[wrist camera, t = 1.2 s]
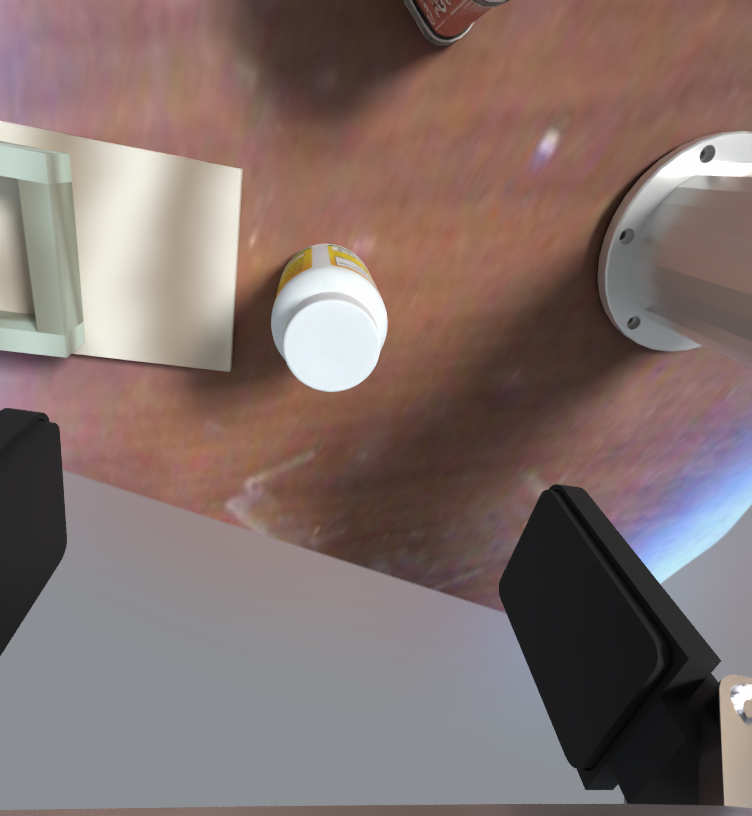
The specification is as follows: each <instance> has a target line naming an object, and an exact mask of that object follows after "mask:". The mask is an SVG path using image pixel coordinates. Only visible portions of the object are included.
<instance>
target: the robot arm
mask: <svg viewBox="0 0 752 816" xmlns="http://www.w3.org/2000/svg"><path fill="white" fill-rule="evenodd" d="M620 235H621V236H620ZM598 286H599V295H600V299H601V302H602V305H603V308H604V311H605V313H606V314H607V316H608V318H609V319H610V321H611V322H612V324H613V325H614V326H615V327H616V328H617V329H618V330H619V331H620V332H621V333H622V334H623V335H624V336H626V337H628V338H629V339H631V340H633V341H634V342H636V343H638V344H640V345H643V346H645V347H648V348H650V349H654V350H660V351H667V352H670V351H685V350H689V349H694V348H698V347H702V346H704V347H706V348H708V349H710V350H712V351H714V352H716V353H719V354H721V355H723V356H725V357H727V358H729V359H731V360H733V361H735V362H738V363H740V364H742V365H744V366H746V367H748V368H750V369H752V132H748V131H733V132H720V133H716V134H711V135H707V136H703V137H699V138H697V139H695V140H693V141H690V142H688V143H686V144H684V145H681V146H679V147H678V148H676V149H675V150H673V151H672V152H670V153H669V154H667V155H666V156H664V157H663V158H661V159H660V160H659V161H658V162H656V163H655V164H654V165H653V166H652V167H651V168H650V169H649V170H648V171H647V172H645V173H644V174H643V175H642V176H641V177H640V179H639V180H638V181H637V182H636V183H635V185H634V186H633V187H632V188H631V189H630V191H629V192H628V193H627V194H626V196H625V197H624V199H623V201H622V202H621V204H620V206H619V207H618V209H617V211H616V212H615V214H614V216H613V218H612V220H611V222H610V225H609V227H608V230H607V232H606V234H605V237H604V240H603V244H602V248H601V252H600V256H599V265H598ZM65 520H66V519H65V504H64V489H63V474H62V459H61V444H60V431H59V427H58V425H57V424H56V423H52V422H49V418H48V416H47V415H46V414H44V413H40V412H33V411H26V410H19V409H12V408H4V409H3V410H1V411H0V656H1V654H2V652H3V651H4V649H5V648H6V646H7V645H8V643H9V641H10V640H11V638H12V637H13V635H14V634H15V632H16V630H17V629H18V627H19V626H20V624H21V623H22V621H23V620H24V618H25V616H26V615H27V613H28V612H29V610H30V609H31V607H32V605H33V604H34V602H35V600H36V599H37V598H38V596H39V594H40V593H41V591H42V590H43V588H44V587H45V585H46V583H47V582H48V580H49V579H50V577H51V576H52V574H53V572H54V571H55V569H56V567H57V566H58V565H59V563H60V561H61V560H62V557H63V555H64V552H65V549H66V544H67V534H66V521H65ZM499 595H500V598H501V601H502V603H503V606H504V608H505V611H506V613H507V615H508V618H509V620H510V623H511V625H512V628H513V630H514V632H515V635H516V637H517V640H518V642H519V644H520V647H521V649H522V652H523V654H524V657H525V659H526V662H527V664H528V666H529V669H530V671H531V674H532V676H533V678H534V681H535V683H536V685H537V688H538V691H539V693H540V696H541V698H542V700H543V703H544V705H545V707H546V710H547V713H548V715H549V717H550V720H551V722H552V725H553V727H554V730H555V732H556V734H557V737H558V739H559V742H560V744H561V746H562V749H563V751H564V754H565V756H566V758H567V760H568V762H569V763H570V764H571V766H573V767H574V768H577V771H578V773H579V776H580V778H581V780H582V783H583V785H584V787H585V789H586V790H613V789H614V788H615V787H616V786H617V785H618V784H619V786H620V788H621V791H622V793H623V795H624V797H625V798H624V804H496V805H495V804H491V805H490V804H485V805H484V804H482V805H481V804H479V805H477V804H476V805H362V806H361V805H360V806H267V807H265V806H262V807H260V806H258V807H189V808H188V807H187V808H127V809H126V808H121V809H55V810H54V809H51V810H2V811H0V816H752V678H749V677H746V676H741V675H727V676H726V677H724V678H723V679H722V680H721V681H720V682H719V683H718V682H717V680H716V679H715V678H714V676H713V675H712V674H711V672H712V671H713V670H714V669H715V668H716V666H717V665H718V664H719V663H720V662H721V660H720V659H719V658H718V656H717V655H716V654H715V653H714V652H713V650H712V649H711V648H710V646H709V645H708V644H707V643H706V641H705V640H704V639H703V637H702V636H701V635H700V634H699V632H698V631H697V630H696V629H695V627H694V626H693V625H692V624H691V622H690V621H689V620H688V619H687V617H686V616H685V615H684V614H683V612H682V611H681V610H680V609H679V607H678V606H677V605H676V604H675V602H674V601H673V600H672V599H671V598H670V596H669V595H668V594H667V592H666V591H665V590H664V589H663V587H662V586H661V585H660V584H659V582H658V581H657V580H656V579H655V577H654V576H653V575H652V574H651V572H650V571H649V570H648V569H647V567H646V566H645V565H644V564H643V562H642V561H641V560H640V559H639V557H638V556H637V555H636V554H635V552H634V551H633V550H632V549H631V547H630V546H629V545H628V544H627V542H626V541H625V540H624V539H623V537H622V536H621V535H620V534H619V532H618V531H617V530H616V528H615V527H614V526H613V525H612V523H611V522H610V521H609V520H608V518H607V517H606V516H605V515H604V513H603V512H602V511H601V510H600V508H599V507H598V506H597V505H596V503H595V502H594V501H593V500H592V498H591V497H590V496H589V495H588V493H587V492H586V491H585V490H584V489H583V488H579V487H573V486H565V485H558V484H556V485H553V486H551V487H550V488H549V490H545V491H543V492H542V494H541V495H540V497H539V499H538V501H537V504H536V506H535V508H534V510H533V512H532V514H531V516H530V518H529V520H528V523H527V525H526V527H525V529H524V531H523V533H522V535H521V537H520V539H519V541H518V544H517V546H516V548H515V550H514V552H513V554H512V556H511V558H510V560H509V563H508V565H507V567H506V569H505V571H504V573H503V575H502V577H501V580H500V583H499Z"/></svg>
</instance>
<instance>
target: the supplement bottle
mask: <svg viewBox="0 0 752 816" xmlns="http://www.w3.org/2000/svg"><path fill="white" fill-rule="evenodd" d="M387 323H388V322H387V313H386V309H385V305H384V303H383V300H382V298H381V295H380V294H379V292H378V290H377V287H376V285H375V284H374V282H373V279H372V277H371V275H370V273H369V271H368V269H367V268H366V266H365V265H364V263H363V262H362V261H361V260H360V259H359V258H358V256H356V255H355V254H354V253H352V252H351V251H349V250H348V249H346V248H344V247H341V246H338V245H334V244H317V245H313V246H310V247H307V248H305V249H303V250H301V251H300V252H299V253H297V254H296V255H295V256H294V257H293V258H292V259H291V260H290V261H289V263H288V264H287V266H286V267H285V269H284V271H283V273H282V276H281V279H280V283H279V287H278V291H277V295H276V299H275V302H274V306H273V310H272V316H271V330H272V335H273V339H274V342H275V345H276V347H277V349H278V351H279V352H280V354H281V355H282V357H283V358H284V359H285V360H286V363H287V365H288V367H289V368H290V370H291V372H292V373H293V374H294V375H295V376H296V377H297V379H298V380H300V381H301V382H302V383H304V384H305V385H307V386H309V387H311V388H314V389H317V390H320V391H327V392H337V391H342V390H346V389H349V388H352V387H354V386H356V385H358V384H359V383H361V382H362V381H363V380H364V379H366V378H367V377H368V376H369V375H370V373H371V372H372V370H373V369H374V367H375V365H376V364H377V361H378V358H379V354H380V351H381V349H382V346H383V344H384V341H385V338H386V334H387Z"/></svg>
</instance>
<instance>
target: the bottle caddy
mask: <svg viewBox="0 0 752 816" xmlns="http://www.w3.org/2000/svg"><path fill="white" fill-rule="evenodd" d="M242 177H243V169H241V168H236V167H231V166H226V165H221V164H216V163H210V162H205V161H200V160H195V159H190V158H185V157H180V156H175V155H170V154H165V153H160V152H155V151H150V150H145V149H140V148H135V147H130V146H125V145H120V144H115V143H110V142H105V141H100V140H95V139H90V138H85V137H80V136H75V135H70V134H65V133H60V132H54V131H49V130H44V129H39V128H34V127H29V126H24V125H19V124H14V123H9V122H4V121H0V350H3V351H12V352H21V353H29V354H38V355H47V356H56V357H64V358H67V357H68V356H69V355H71V354H80V355H89V356H97V357H106V358H115V359H123V360H132V361H140V362H149V363H158V364H166V365H175V366H183V367H192V368H200V369H209V370H218V371H226V372H230V370H231V367H232V352H233V334H234V317H235V299H236V282H237V265H238V247H239V230H240V212H241V195H242Z"/></svg>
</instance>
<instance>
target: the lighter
mask: <svg viewBox="0 0 752 816" xmlns="http://www.w3.org/2000/svg"><path fill="white" fill-rule="evenodd" d="M403 1H404V3H405V5H406V6H407V8H408V10H409V11H410V13H411V15H412V16H413V18H414V20H415V21H416V23H417V25H418V26H419V28H420V30H421V31H422V33H423V35H424V36H425V37H426V38H427V39H428V40H429V41H430V42H431V43H433V44H436V45H438V46H442V45H449V44H452V43H454V42H456V41H457V40H459V39H460V38H461V37H462V36H463V35H465V34H466V33H467V32H468V31H469V30H470V28H471V27H472V25H473V23H474V22H475V21H476V20H477V19H478V18H479V17H481V16H482V15H483V14H484V13H486V12H487V11H488V10H489V9H491V8H492V7H497V6H499V5H501V4H504V3H506V2H508V1H509V0H403Z"/></svg>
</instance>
